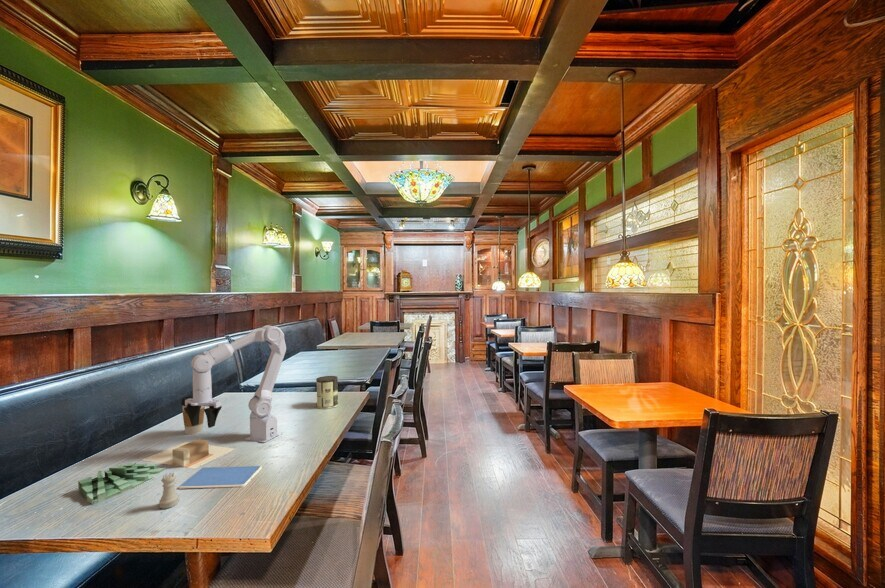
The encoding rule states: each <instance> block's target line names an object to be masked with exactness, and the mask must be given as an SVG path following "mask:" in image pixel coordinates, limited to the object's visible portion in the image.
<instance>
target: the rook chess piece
mask: <svg viewBox="0 0 885 588" xmlns="http://www.w3.org/2000/svg"><path fill="white" fill-rule="evenodd" d="M176 478H177V476H176V475H175V473H174V472H173V473H172V472H170V473H169V474H168V473H166V474H165V475H163V476H162V479H161V483H163V484H162V488H163V489H162V490H163V491H162V496H161V497H160V499H159V501H158V502H159V505H158V507H159V508H160V509H162V510H165V509H166V510H167V509H170V508H173V507H175V506H176V505H177V504H178V503H179V502H180V499H179V497H180V496H179V495H178V493H177V492H176V489H175V484H176V482H175V480H176Z"/></svg>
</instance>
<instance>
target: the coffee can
mask: <svg viewBox="0 0 885 588" xmlns="http://www.w3.org/2000/svg"><path fill="white" fill-rule="evenodd" d="M315 379H316V408H317V409H320V410H329V409H333V408H336V407H338V406H339V399H338V398H339V395H338V394H339V393H338V390H339V389H338V376H336V375H324V376H323V375H322V376H320V377H317V378H315Z"/></svg>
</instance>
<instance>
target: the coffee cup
mask: <svg viewBox="0 0 885 588" xmlns="http://www.w3.org/2000/svg"><path fill="white" fill-rule="evenodd" d="M187 399H193V395H190V396H189V395H188V396H184V397H181V402H180V405H181V406H182V410H181V412H182V417H183V425H184V432H185V435H196V434H199V433H201V432H203V431H204V430H203V428H204V419H205V418H204V417H205V412H204V409H206V406H201V409H200V413H199V424H197V425H195V426H192V424H191V421H190V419H189V416H188V414H187V413H186V411H185V410H184V408H185V407H187V406H188V405H185V400H187Z"/></svg>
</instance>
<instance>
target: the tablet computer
mask: <svg viewBox="0 0 885 588" xmlns="http://www.w3.org/2000/svg"><path fill="white" fill-rule="evenodd" d="M262 469H263V467H262V466H261V465H251V466H250V465H246V466H245V465H244V466H222V467H221V466H217V467H216V466H214V467H213V466H211V467H202V468H200V469H199V470H197V471H196V472H195V473H194V474H192V475H191V476H190V477H188V478H187V479H186V480H185V481H183V482H182V483H181V484H180V485H178V487H177V489H179V490H180V489H181V490H182V489H214V488H215V489H218V488H244V487H246V486H247V485H248V483H250V482H251V481H252V480H253V478H255V477H256V475H257V474H258V473H259V472H260V471H261V470H262Z"/></svg>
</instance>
